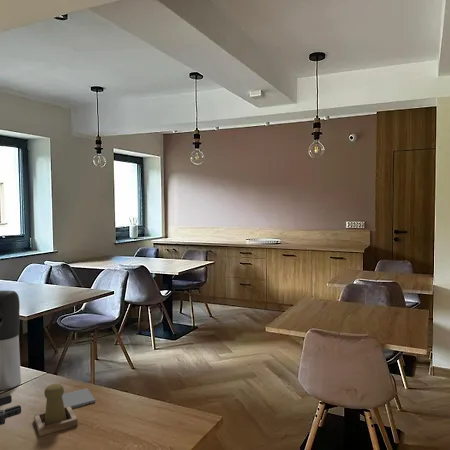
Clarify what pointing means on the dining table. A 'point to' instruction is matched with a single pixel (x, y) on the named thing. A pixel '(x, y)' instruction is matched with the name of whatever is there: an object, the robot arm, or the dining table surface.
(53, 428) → the wooden square frame
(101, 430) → the dining table surface
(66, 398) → the slate tile
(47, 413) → the cork
